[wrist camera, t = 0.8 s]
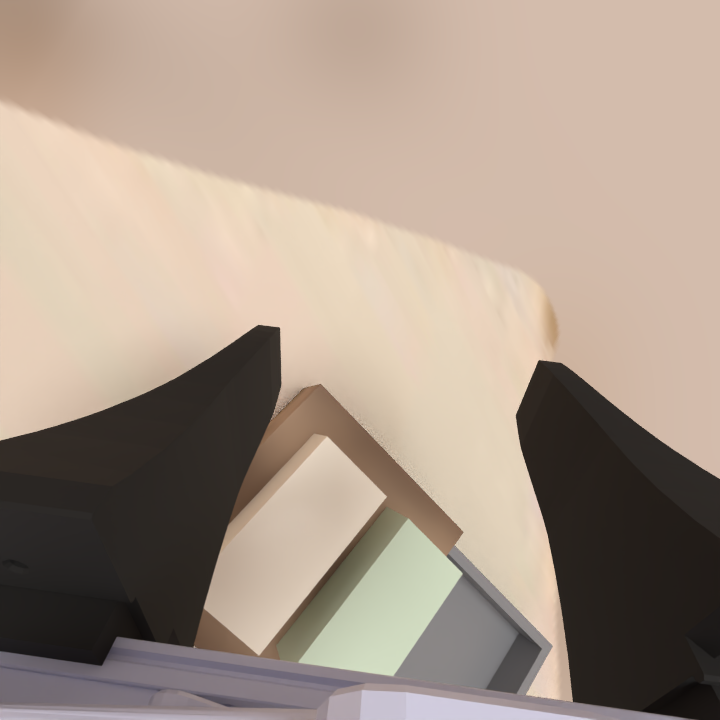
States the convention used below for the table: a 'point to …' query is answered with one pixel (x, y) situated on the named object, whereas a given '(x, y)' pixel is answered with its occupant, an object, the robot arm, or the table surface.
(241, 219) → the table surface
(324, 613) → the sage tile
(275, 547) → the cream tile
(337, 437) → the block
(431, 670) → the bin
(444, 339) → the table surface
